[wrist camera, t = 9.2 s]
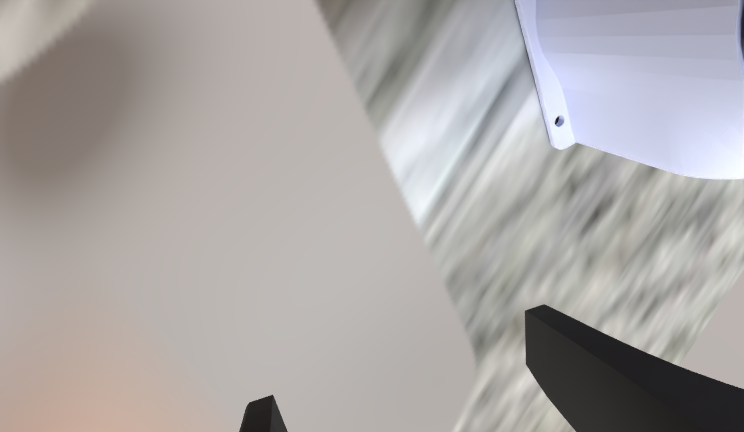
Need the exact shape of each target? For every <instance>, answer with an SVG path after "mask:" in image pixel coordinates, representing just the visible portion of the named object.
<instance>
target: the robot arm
mask: <svg viewBox="0 0 744 432" xmlns="http://www.w3.org/2000/svg"><path fill="white" fill-rule="evenodd" d="M515 4H516V8H517V12H518V16H519V20H520V24H521V28H522V32H523V36H524V40H525V44H526V48H527V52H528V56H529V60H530V64H531V68H532V72H533V75H534V79H535V83H536V87H537V91H538V95H539V99H540V103H541V107H542V111H543V115H544V119H545V123H546V127H547V131H548V135H549V139H550V143H551V145H552V146H553V147H554V148H557V149H565V148H567V147H569V146H570V145H572V144H574V143H576V142H577V143H580V144H583V145H586V146H590V147H593V148H596V149H599V150H602V151H605V152H609V153H612V154H615V155H618V156H621V157H624V158H627V159H631V160H634V161H637V162H640V163H643V164H646V165H649V166H653V167H656V168H659V169H662V170H665V171H668V172H671V173H675V174H679V175H683V176H689V177H696V178H706V179H744V0H515ZM558 116H559V121H558V123H557V124H556V125H555V120H556V118H557V117H558ZM525 337H526V365H527V367H528V368H529V370H530V371H531V373H532V374H533V376H534V378H535V379H536V381H537V382H538V384H539V385H540V387H541V388H542V390H543V391H544V393H545V394H546V396H547V397H548V398H549V399H550V401H551V402H552V403H553V404H554V406H555V407H556V408H557V409H558V410H559V412H560V413H561V414H562V415H563V416H564V418H565V419H566V420H567V421H568V422H569V424H570V425H571V426H572V427H573V428H574V430H575V431H576V432H744V389H741V388H738V387H735V386H732V385H729V384H726V383H723V382H720V381H717V380H715V379H712V378H709V377H706V376H704V375H701V374H698V373H695V372H692V371H690V370H687V369H685V368H682V367H679V366H677V365H674V364H672V363H670V362H667V361H665V360H662V359H660V358H658V357H655V356H653V355H650V354H648V353H646V352H643V351H641V350H639V349H637V348H634V347H632V346H630V345H628V344H625V343H623V342H621V341H619V340H617V339H615V338H613V337H610V336H608V335H606V334H604V333H602V332H600V331H598V330H596V329H594V328H592V327H590V326H588V325H586V324H584V323H582V322H580V321H578V320H576V319H574V318H571V317H569V316H567V315H565V314H563V313H561V312H559V311H557V310H555V309H553V308H551V307H549V306H547V305H541V306H538V307H535V308H532V309H529V310H526V311H525ZM239 432H287V429H286V427H285V424H284V422H283V419H282V416H281V414H280V411H279V409H278V406H277V404H276V401H275V399H274V396H273V395H271V396H268V397H265V398H262V399H259V400H256V401H253V402H250V403H249V404H248V405H247V407H246V410H245V414H244V417H243V421H242V424H241V428H240V431H239Z"/></svg>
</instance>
